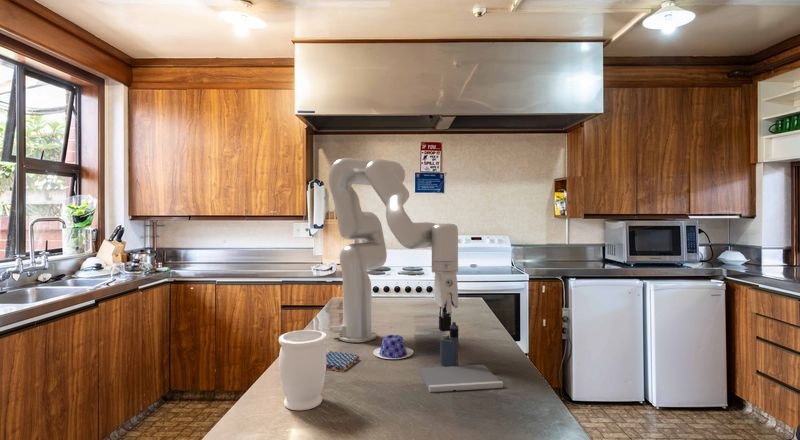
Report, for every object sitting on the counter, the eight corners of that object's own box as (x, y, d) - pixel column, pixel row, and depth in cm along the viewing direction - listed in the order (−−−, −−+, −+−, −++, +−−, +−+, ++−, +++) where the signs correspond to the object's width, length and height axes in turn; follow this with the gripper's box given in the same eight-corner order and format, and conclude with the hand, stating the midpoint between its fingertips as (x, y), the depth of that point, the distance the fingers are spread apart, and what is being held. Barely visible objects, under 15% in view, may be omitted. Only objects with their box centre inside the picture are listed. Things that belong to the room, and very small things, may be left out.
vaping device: (456, 368, 118) (456, 324, 118) (438, 365, 121) (438, 321, 120) (460, 365, 120) (460, 322, 120) (442, 362, 123) (442, 319, 123)
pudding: (374, 348, 137) (374, 331, 136) (413, 348, 136) (413, 331, 136) (371, 361, 125) (371, 343, 124) (413, 361, 124) (413, 343, 124)
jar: (283, 393, 102) (283, 329, 102) (328, 391, 103) (328, 328, 103) (274, 414, 92) (274, 343, 91) (324, 412, 92) (324, 342, 92)
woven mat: (309, 369, 119) (309, 361, 119) (329, 357, 129) (329, 350, 129) (343, 374, 115) (343, 367, 115) (361, 361, 125) (361, 354, 125)
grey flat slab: (429, 392, 103) (429, 387, 103) (418, 370, 117) (418, 365, 117) (503, 387, 105) (503, 382, 105) (483, 366, 119) (484, 362, 119)
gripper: (465, 269, 118) (465, 337, 119) (450, 263, 133) (451, 323, 133) (438, 270, 117) (438, 338, 118) (426, 263, 132) (426, 324, 132)
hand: (445, 330), depth 126 cm, fingers closed
